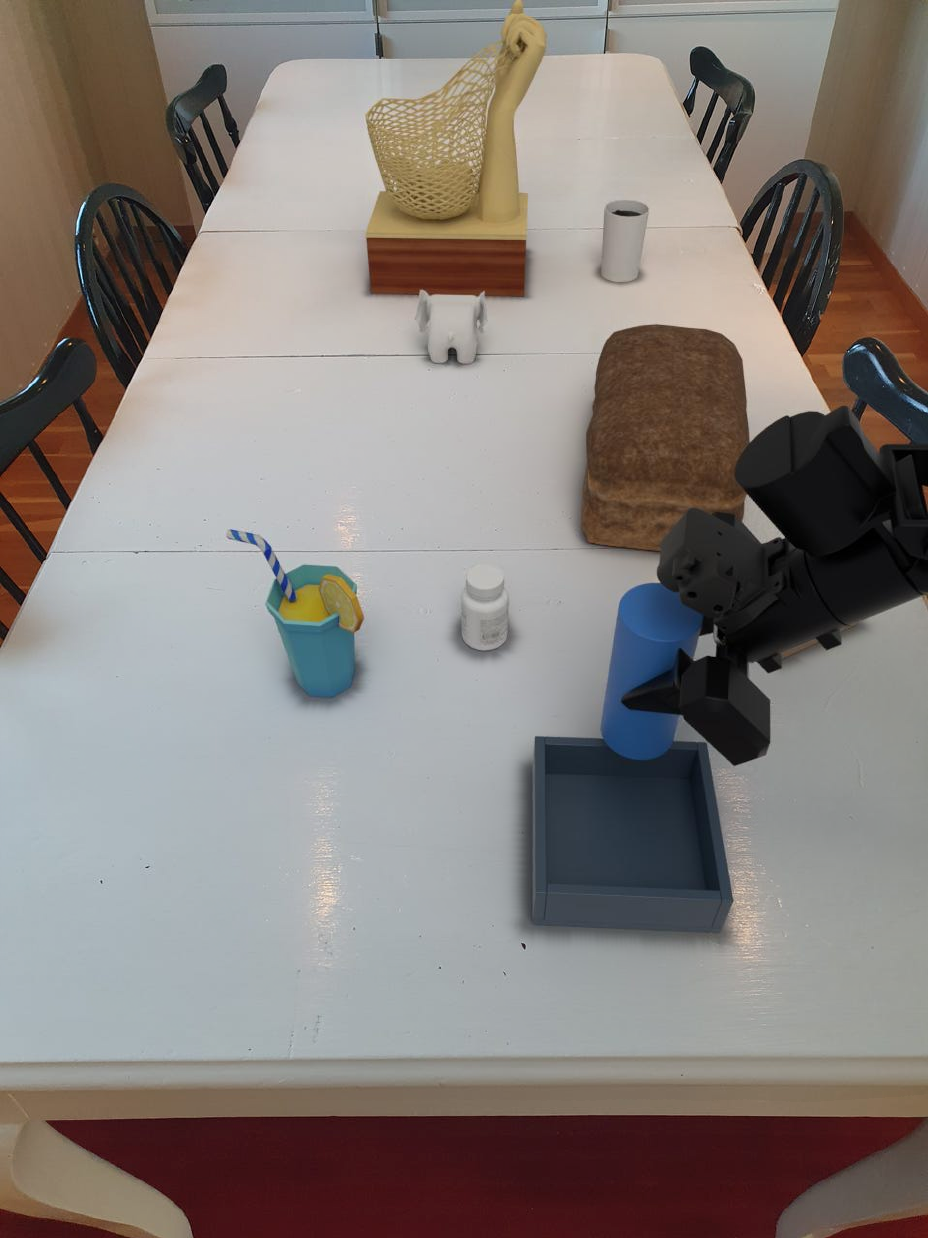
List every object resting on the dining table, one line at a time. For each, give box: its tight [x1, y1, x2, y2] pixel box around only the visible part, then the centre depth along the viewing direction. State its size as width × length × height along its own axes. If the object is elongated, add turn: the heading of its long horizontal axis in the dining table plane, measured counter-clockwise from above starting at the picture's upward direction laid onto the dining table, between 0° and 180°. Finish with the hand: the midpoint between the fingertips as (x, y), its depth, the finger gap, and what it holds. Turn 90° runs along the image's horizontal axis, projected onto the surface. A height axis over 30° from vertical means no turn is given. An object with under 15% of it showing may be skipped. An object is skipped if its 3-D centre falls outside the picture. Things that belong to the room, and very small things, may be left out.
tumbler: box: [600, 582, 703, 760], centre depth 65 cm, size 6×6×13 cm
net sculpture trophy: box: [364, 0, 548, 297], centre depth 130 cm, size 25×18×35 cm
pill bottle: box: [460, 563, 510, 651], centre depth 84 cm, size 4×4×8 cm
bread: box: [580, 323, 751, 552], centre depth 100 cm, size 17×30×13 cm, turn 170°
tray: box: [531, 735, 734, 934], centre depth 69 cm, size 14×14×5 cm
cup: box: [225, 528, 365, 699], centre depth 78 cm, size 14×8×15 cm, turn 62°
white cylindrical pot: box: [600, 199, 650, 283], centre depth 138 cm, size 7×7×10 cm
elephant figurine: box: [414, 290, 489, 365], centre depth 122 cm, size 10×12×9 cm
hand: (628, 672), depth 65 cm, fingers closed on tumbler, 5 cm apart
